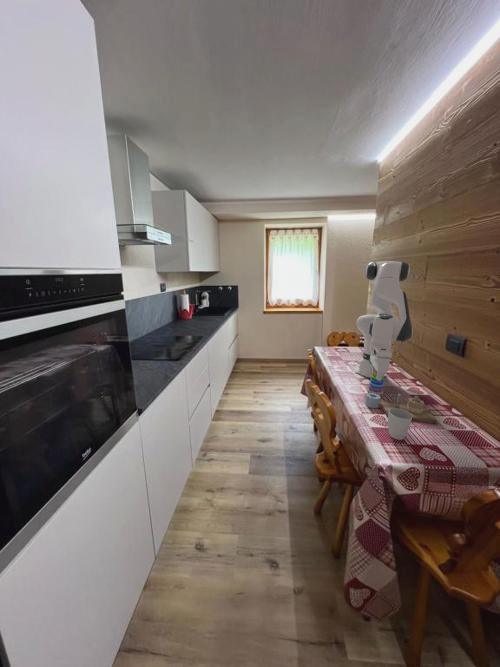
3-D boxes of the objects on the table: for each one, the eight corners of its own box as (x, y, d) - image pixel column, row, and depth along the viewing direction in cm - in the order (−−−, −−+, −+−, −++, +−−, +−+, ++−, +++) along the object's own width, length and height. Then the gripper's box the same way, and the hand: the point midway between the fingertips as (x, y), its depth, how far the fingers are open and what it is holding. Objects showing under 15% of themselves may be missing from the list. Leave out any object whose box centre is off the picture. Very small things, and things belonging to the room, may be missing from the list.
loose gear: (364, 401, 134) (365, 392, 133) (377, 403, 133) (378, 393, 132) (366, 407, 128) (367, 397, 127) (379, 408, 127) (381, 399, 126)
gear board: (379, 402, 133) (382, 387, 132) (424, 408, 129) (427, 392, 127) (386, 416, 120) (389, 399, 118) (436, 423, 116) (440, 405, 114)
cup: (413, 440, 103) (417, 417, 101) (396, 443, 101) (400, 420, 99) (396, 428, 111) (400, 407, 109) (380, 431, 109) (384, 409, 106)
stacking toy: (384, 396, 140) (390, 363, 136) (368, 394, 142) (373, 361, 138) (380, 390, 148) (385, 358, 144) (365, 388, 149) (369, 357, 145)
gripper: (368, 343, 135) (365, 368, 138) (377, 353, 115) (373, 383, 118) (382, 344, 133) (378, 370, 136) (393, 355, 114) (389, 385, 117)
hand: (376, 376), depth 127 cm, fingers open, 8 cm apart
